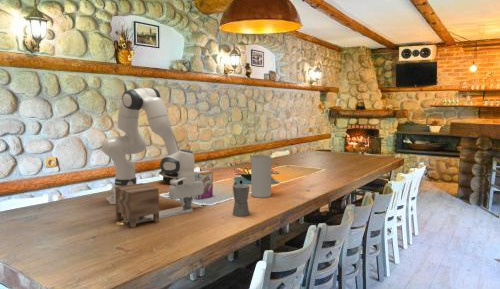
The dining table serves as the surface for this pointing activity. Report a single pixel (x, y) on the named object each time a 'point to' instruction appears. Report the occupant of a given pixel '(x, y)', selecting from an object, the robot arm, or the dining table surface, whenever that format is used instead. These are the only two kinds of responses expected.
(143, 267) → the dining table surface
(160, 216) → the grey long bar
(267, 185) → the cylinder vase
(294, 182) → the dining table surface
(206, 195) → the candy bar box
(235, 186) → the coffeepot
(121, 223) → the brass token
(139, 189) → the walnut cabinet
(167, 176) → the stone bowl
